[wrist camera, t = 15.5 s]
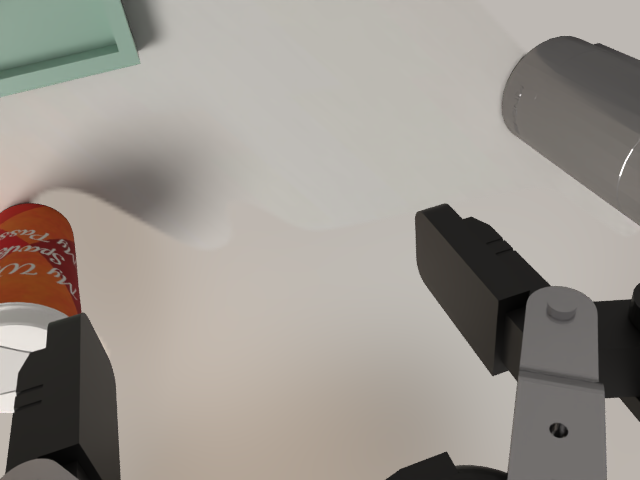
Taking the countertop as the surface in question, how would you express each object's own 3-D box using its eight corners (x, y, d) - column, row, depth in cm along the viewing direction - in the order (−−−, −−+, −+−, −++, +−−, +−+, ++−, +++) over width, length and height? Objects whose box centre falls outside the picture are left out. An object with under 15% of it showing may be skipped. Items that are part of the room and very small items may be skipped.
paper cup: (93, 195, 44) (95, 319, 33) (83, 279, 47) (82, 416, 36) (-29, 183, 40) (-72, 316, 30) (-30, 274, 44) (-68, 422, 33)
